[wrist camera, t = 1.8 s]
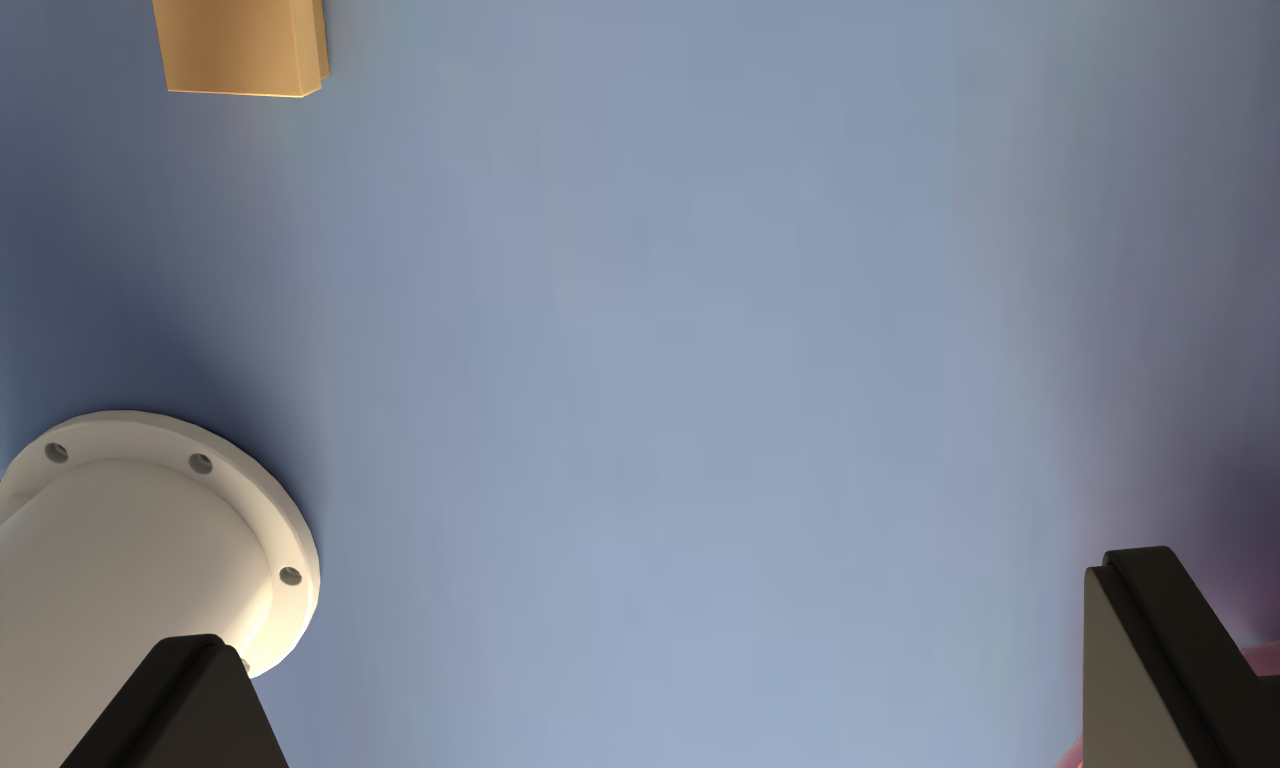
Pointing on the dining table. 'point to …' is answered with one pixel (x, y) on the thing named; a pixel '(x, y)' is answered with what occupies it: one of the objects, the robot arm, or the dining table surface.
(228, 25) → the brush
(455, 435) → the dining table surface
